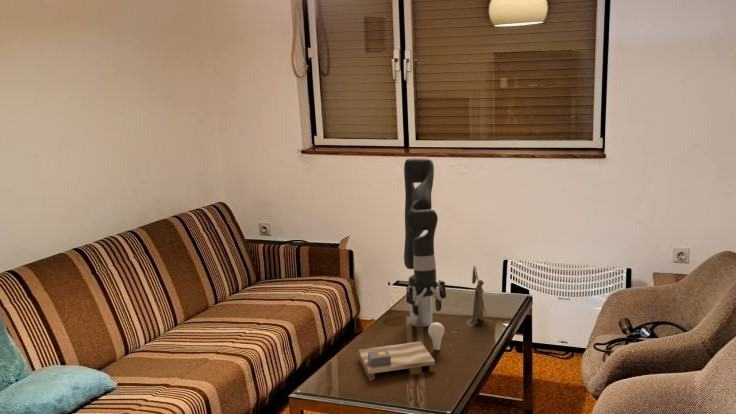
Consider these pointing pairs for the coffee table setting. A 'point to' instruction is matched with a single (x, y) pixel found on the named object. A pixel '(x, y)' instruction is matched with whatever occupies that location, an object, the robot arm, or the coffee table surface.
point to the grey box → (379, 358)
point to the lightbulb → (436, 334)
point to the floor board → (399, 359)
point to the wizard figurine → (477, 301)
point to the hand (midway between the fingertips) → (427, 312)
